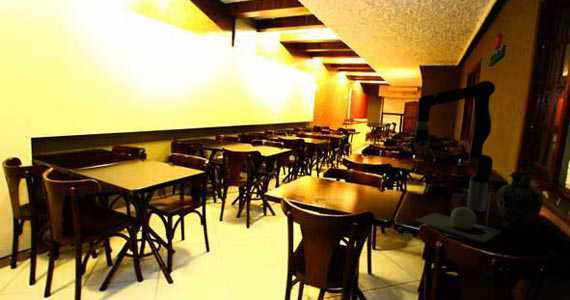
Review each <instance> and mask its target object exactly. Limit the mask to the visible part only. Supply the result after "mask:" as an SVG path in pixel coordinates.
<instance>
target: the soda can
mask: <svg viewBox="0 0 570 300" xmlns="http://www.w3.org/2000/svg"><path fill="white" fill-rule="evenodd" d="M458 207H466V208H467V196H466V195H465V194H463V193H460V192H459V193H458V192H455V193H453V195H452V196H451V202H450V214H451V213H452V211H453V210H454V209H456V208H458Z"/></svg>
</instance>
